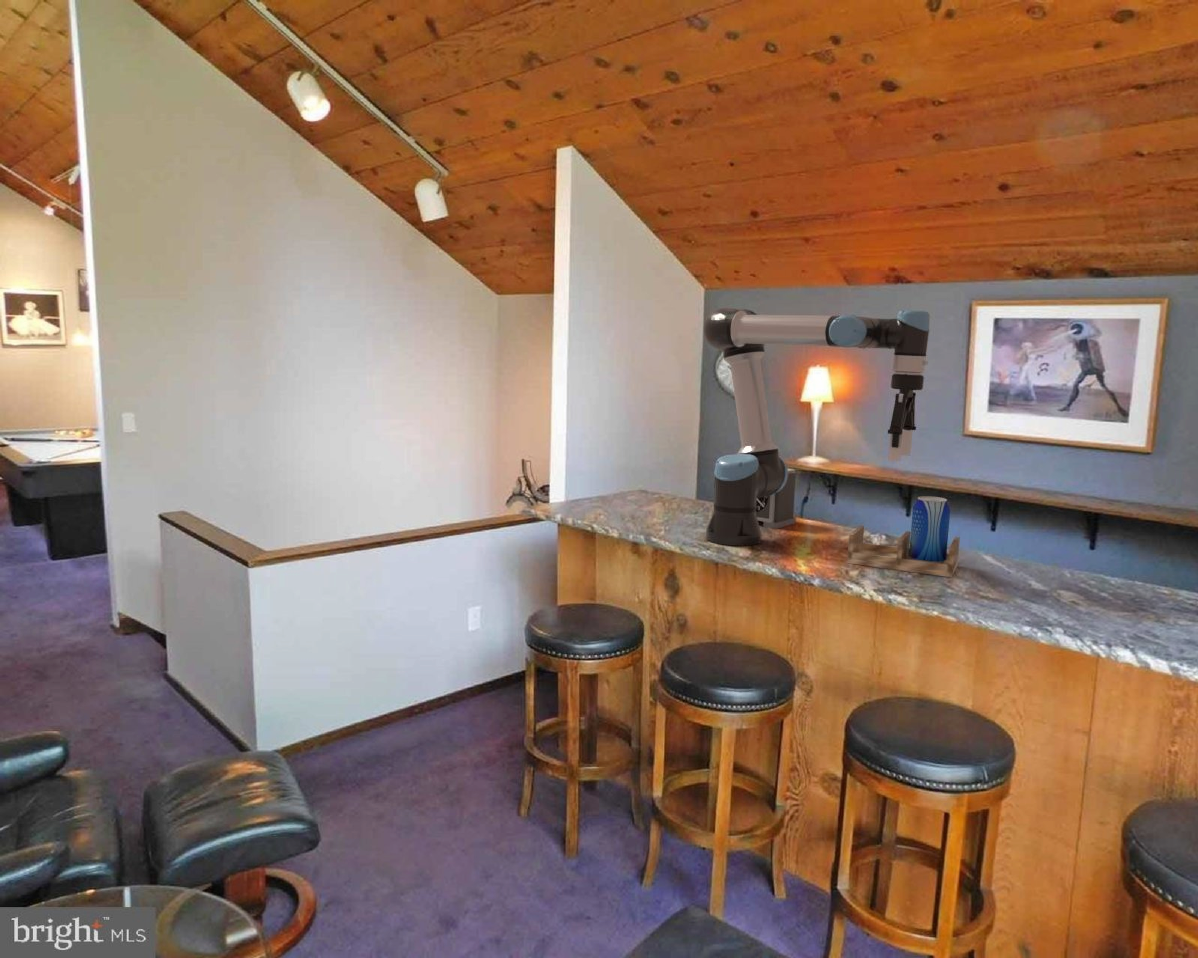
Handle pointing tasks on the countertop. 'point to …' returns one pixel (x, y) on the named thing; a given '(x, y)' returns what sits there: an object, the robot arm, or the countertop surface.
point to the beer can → (929, 529)
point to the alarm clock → (778, 505)
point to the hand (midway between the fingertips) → (899, 457)
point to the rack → (898, 555)
